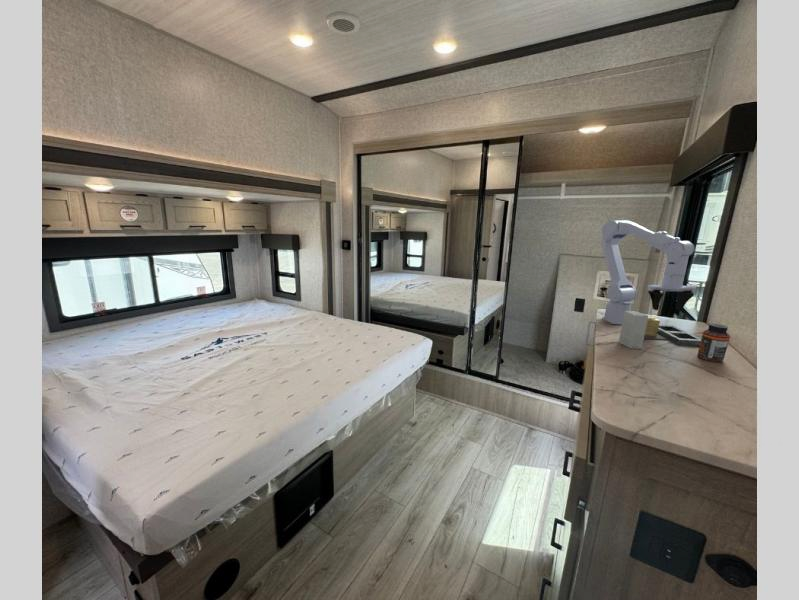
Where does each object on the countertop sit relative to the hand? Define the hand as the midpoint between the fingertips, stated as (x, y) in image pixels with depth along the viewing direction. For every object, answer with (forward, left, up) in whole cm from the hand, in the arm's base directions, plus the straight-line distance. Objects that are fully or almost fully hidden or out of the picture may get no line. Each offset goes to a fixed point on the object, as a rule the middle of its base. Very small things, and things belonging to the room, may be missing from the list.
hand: (666, 309), depth 115 cm
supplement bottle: (+21, +2, -10) cm, 23 cm away
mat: (+1, -6, -10) cm, 12 cm away
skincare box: (+13, -17, -10) cm, 24 cm away
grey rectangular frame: (+1, +4, -10) cm, 11 cm away
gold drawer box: (+1, -6, -10) cm, 11 cm away
